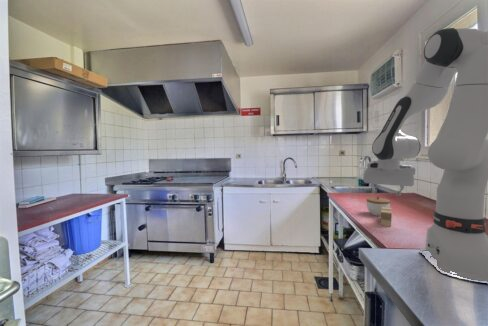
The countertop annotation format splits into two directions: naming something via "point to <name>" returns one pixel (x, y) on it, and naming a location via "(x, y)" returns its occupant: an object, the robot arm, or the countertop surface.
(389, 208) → the beech block
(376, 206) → the lidded jar
